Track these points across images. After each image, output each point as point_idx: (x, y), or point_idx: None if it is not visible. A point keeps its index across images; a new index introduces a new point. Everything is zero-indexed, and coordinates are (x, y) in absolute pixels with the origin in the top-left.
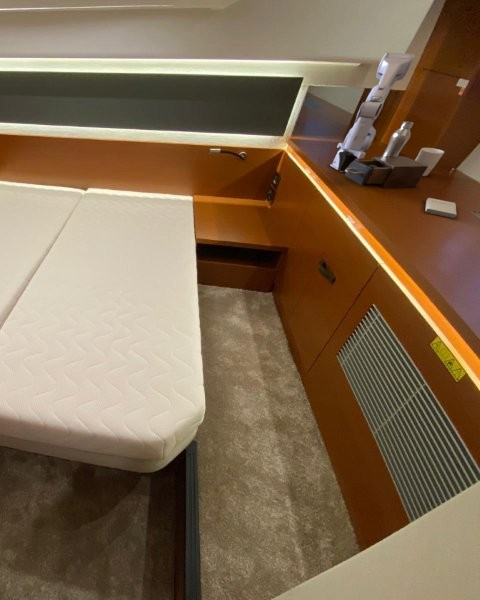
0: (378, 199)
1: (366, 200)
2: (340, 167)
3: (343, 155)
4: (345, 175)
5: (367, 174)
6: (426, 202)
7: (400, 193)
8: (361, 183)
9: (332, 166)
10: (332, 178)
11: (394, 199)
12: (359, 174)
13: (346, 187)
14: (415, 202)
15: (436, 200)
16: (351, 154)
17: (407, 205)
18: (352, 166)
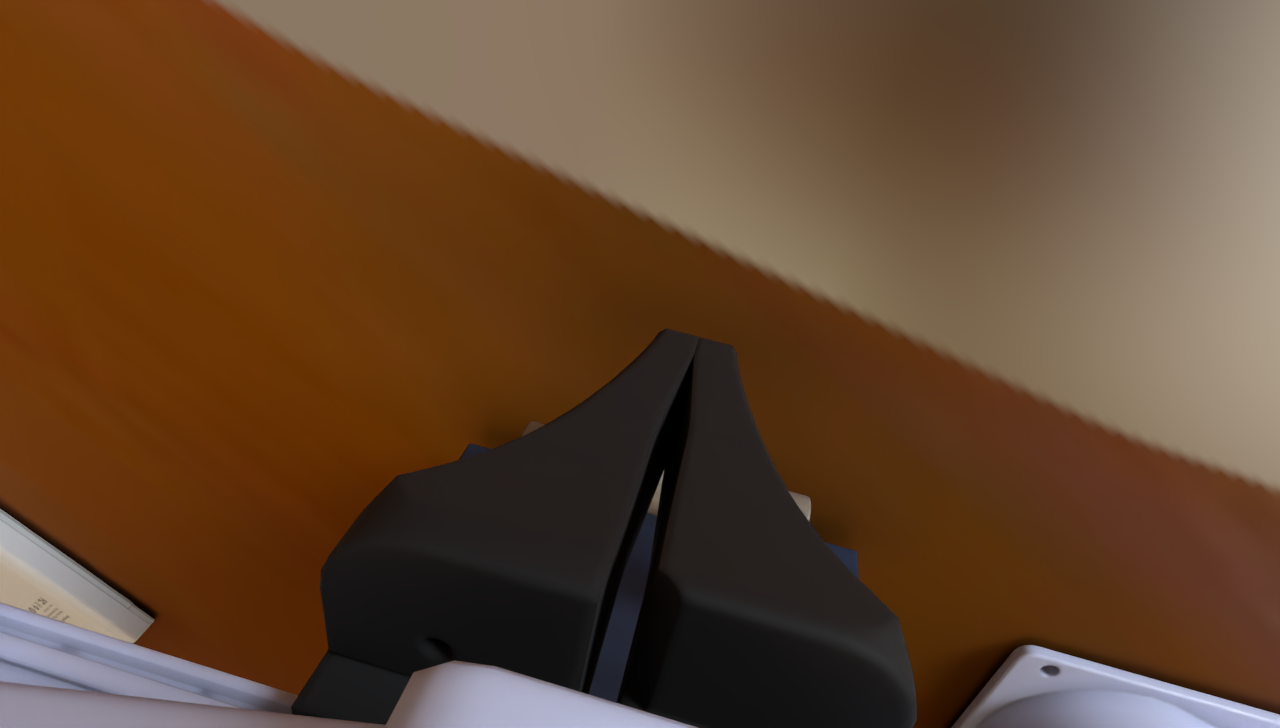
0: (107, 305)
1: (29, 130)
2: (652, 359)
3: (534, 525)
4: (834, 548)
5: None
6: (85, 582)
7: (312, 607)
8: (464, 456)
9: (1268, 715)
10: (887, 361)
11: (148, 451)
12: None
13: (490, 256)
14: (116, 540)
15: None
16: (319, 677)
17: (19, 431)
18: None
